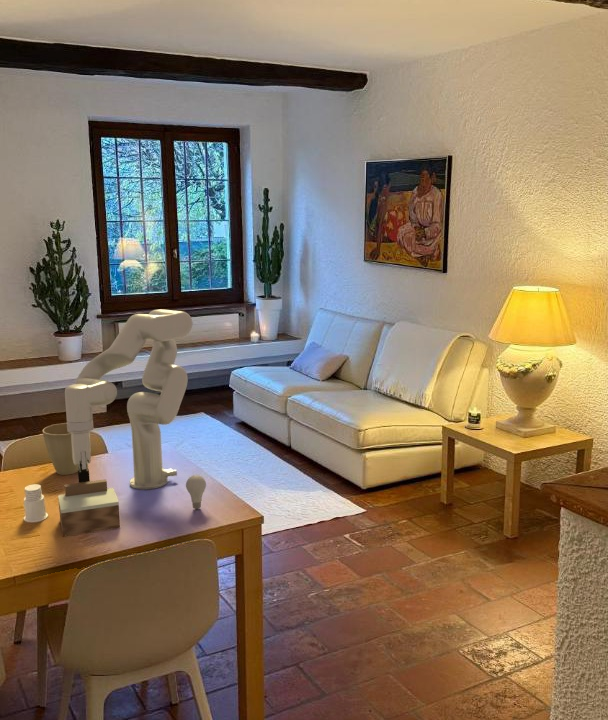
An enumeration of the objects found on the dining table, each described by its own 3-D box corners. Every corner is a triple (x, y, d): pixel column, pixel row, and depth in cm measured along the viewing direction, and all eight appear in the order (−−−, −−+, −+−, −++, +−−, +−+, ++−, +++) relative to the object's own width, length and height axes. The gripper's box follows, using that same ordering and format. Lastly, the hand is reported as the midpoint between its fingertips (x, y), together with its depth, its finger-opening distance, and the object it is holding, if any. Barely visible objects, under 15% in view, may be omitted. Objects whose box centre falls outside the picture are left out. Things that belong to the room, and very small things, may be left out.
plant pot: (82, 478, 256) (79, 434, 253) (39, 479, 257) (36, 434, 254) (94, 464, 271) (92, 422, 268) (54, 464, 271) (51, 422, 268)
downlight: (29, 512, 229) (26, 482, 226) (52, 512, 228) (49, 482, 226) (19, 524, 221) (15, 493, 218) (42, 524, 221) (39, 493, 218)
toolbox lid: (113, 490, 226) (112, 478, 225) (118, 505, 215) (117, 492, 214) (58, 498, 221) (57, 485, 220) (61, 513, 210) (60, 500, 209)
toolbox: (114, 512, 228) (113, 491, 226) (120, 527, 217) (118, 505, 215) (60, 520, 222) (58, 498, 221) (62, 536, 211) (61, 513, 210)
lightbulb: (210, 506, 232) (209, 473, 229) (201, 514, 226) (200, 480, 224) (192, 504, 234) (191, 471, 231) (183, 511, 228) (182, 477, 226)
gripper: (65, 420, 229) (69, 476, 233) (68, 433, 216) (73, 493, 219) (90, 417, 232) (94, 473, 236) (95, 430, 218) (99, 489, 222)
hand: (84, 482), depth 227 cm, fingers closed
